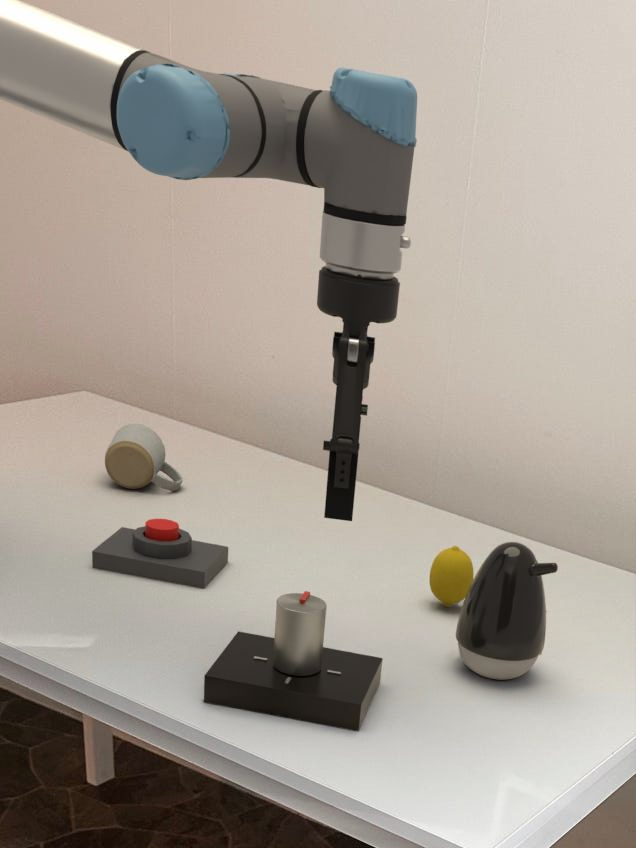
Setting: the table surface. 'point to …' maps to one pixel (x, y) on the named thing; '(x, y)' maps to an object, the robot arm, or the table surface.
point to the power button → (162, 530)
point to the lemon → (451, 575)
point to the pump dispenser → (504, 613)
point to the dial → (299, 634)
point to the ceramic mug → (139, 459)
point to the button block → (161, 557)
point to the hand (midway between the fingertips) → (340, 497)
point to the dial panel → (293, 683)
